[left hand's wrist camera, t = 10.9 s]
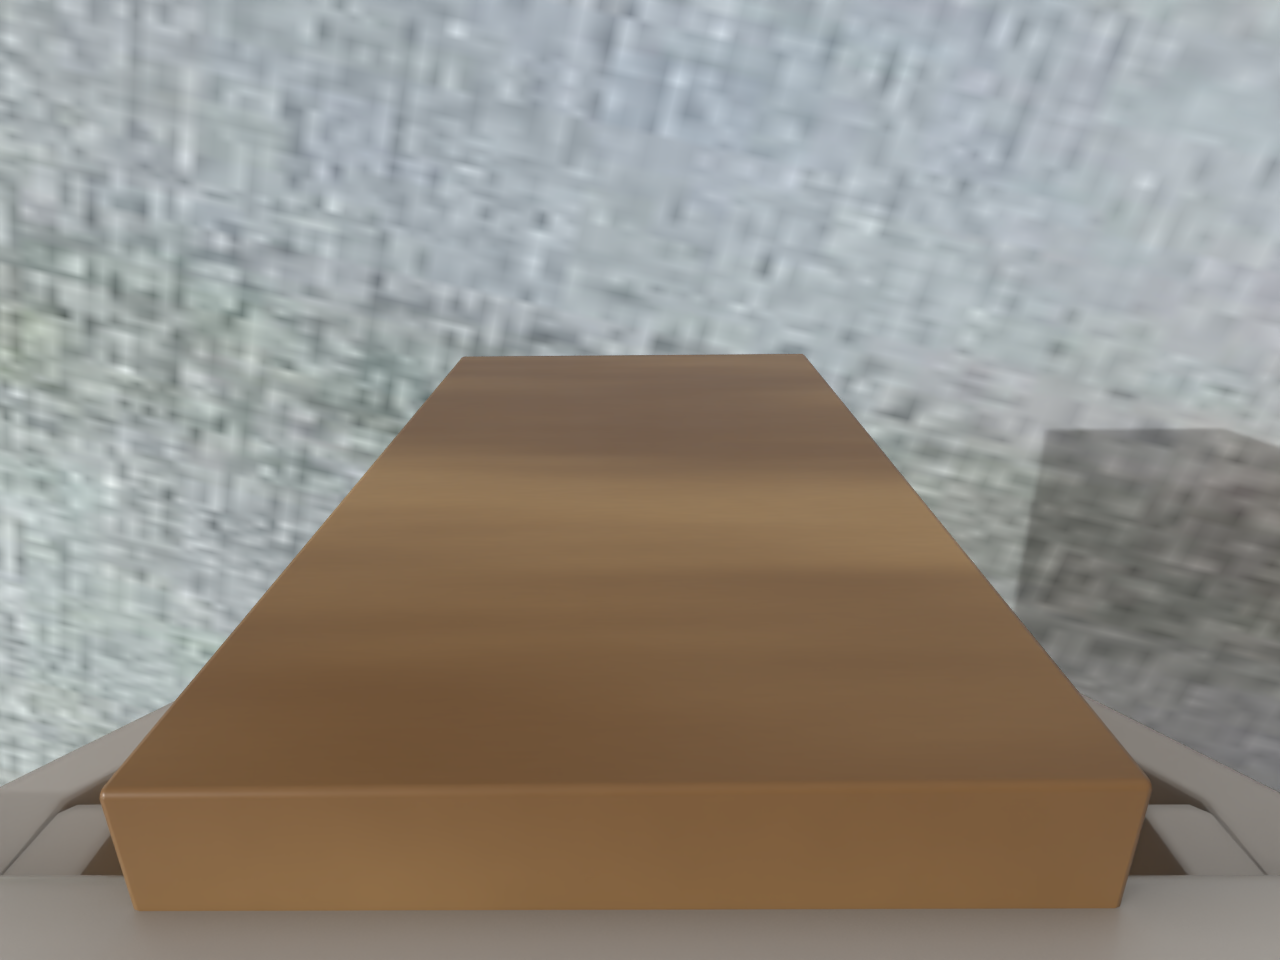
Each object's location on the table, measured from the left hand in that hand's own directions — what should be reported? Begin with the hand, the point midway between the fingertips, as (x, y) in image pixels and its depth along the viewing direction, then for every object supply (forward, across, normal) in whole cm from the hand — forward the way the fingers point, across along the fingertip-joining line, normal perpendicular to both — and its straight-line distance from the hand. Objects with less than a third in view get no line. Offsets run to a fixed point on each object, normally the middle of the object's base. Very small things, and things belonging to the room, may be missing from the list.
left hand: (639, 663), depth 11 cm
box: (+6, 0, -10) cm, 11 cm away
